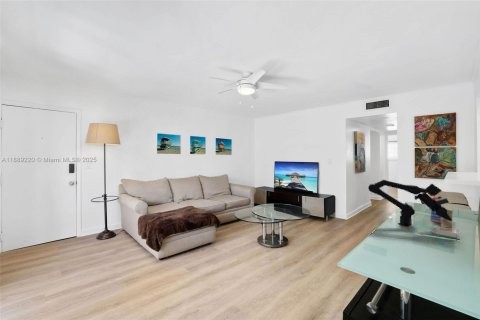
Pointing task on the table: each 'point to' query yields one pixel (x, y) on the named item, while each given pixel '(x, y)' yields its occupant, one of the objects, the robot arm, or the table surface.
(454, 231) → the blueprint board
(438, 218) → the stacking toy
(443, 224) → the maple pillar
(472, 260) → the table surface
